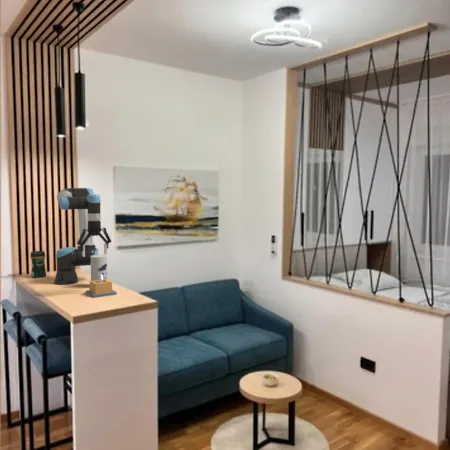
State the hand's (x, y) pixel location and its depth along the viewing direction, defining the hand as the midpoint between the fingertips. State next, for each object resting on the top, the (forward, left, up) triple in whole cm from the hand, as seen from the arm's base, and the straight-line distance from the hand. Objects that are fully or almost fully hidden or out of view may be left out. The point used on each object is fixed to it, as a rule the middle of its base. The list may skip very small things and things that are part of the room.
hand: (94, 255), depth 257 cm
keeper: (+5, +2, -23) cm, 23 cm away
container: (-15, +8, -23) cm, 29 cm away
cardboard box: (+5, +2, -21) cm, 22 cm away
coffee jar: (-69, -17, -23) cm, 75 cm away
